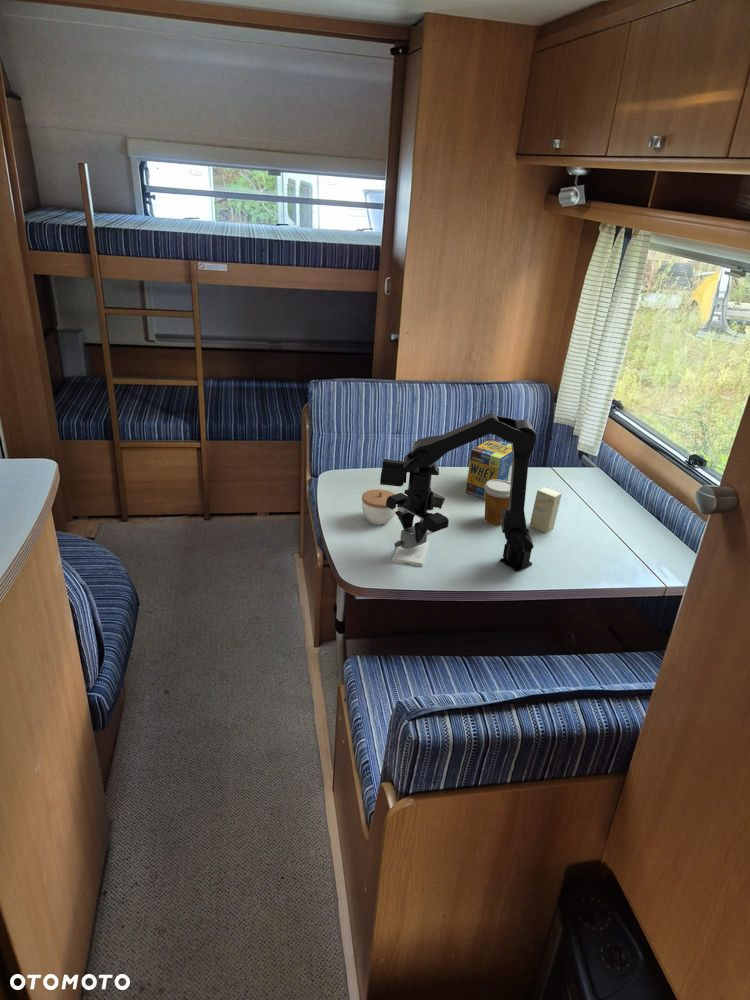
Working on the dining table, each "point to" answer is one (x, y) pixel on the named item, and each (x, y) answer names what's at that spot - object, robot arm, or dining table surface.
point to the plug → (410, 538)
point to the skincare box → (545, 509)
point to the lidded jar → (377, 506)
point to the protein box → (489, 465)
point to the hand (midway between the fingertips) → (413, 539)
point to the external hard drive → (411, 554)
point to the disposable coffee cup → (496, 500)
